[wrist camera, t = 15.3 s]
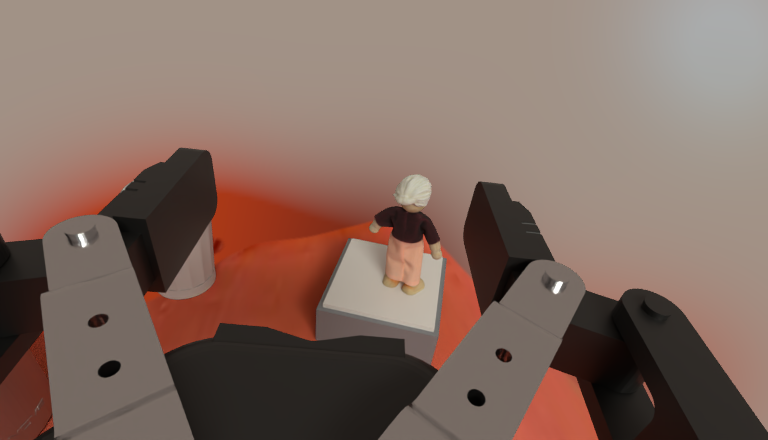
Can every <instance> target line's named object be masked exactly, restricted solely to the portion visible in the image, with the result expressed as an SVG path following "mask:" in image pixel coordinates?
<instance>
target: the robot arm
mask: <svg viewBox="0 0 768 440" xmlns="http://www.w3.org/2000/svg"><path fill="white" fill-rule="evenodd" d="M216 208H217V192H216V185H215V178H214V171H213V164H212V158H211V155H210V153H209V152H208V151H207V150H197V149H188V148H179V149H178V150H177V151H176V152H175V153H174V154H173V155H172V156H171V157H170V158H169V159H168V160H167V161H166V162H165V163H164V162H160V163H158V164H155V165H153V166H151V167H149V168H147V169H145V170H144V171H142V172H141V173H140V174H139V175H138V176H137V177H136V178H135V179H134V182H131V183H130V184H129V185H128V186H127V187H126V188H125V190H123V191H121V192H120V193H119V194H118V196H116V197H115V198H114V199H113V200H112V201H111V202H110V203H109V204H108V205H107V206H106V207H105V208H104V209H103V210H102V211H101V212H100V213H99V214H97V215H84V216H79V217H74V218H71V219H68V220H65V221H63V222H60V223H58V224H57V225H55V226H53V227H52V228H51V229H49V230H48V231H47V232H46V234H45V235H44V237H43V239H36V240H26V241H15V242H5V241H4V240H3V238H2V236H1V234H0V440H512V439H513V437H514V435H515V433H516V431H517V429H518V427H519V425H520V423H521V421H522V419H523V417H524V415H525V413H526V411H527V409H528V407H529V405H530V403H531V401H532V399H533V397H534V395H535V393H536V391H537V389H538V388H539V386H540V384H541V382H542V380H543V378H544V376H545V374H546V372H547V370H548V368H549V367H551V368H553V369H556V370H559V371H561V372H564V373H567V374H570V375H572V376H575V377H576V378H577V381H578V383H579V386H580V389H581V392H582V395H583V397H584V400H585V403H586V406H587V409H588V411H589V414H590V417H591V420H592V423H593V425H594V428H595V431H596V434H597V436H598V439H599V440H768V432H767V431H766V429H765V428H764V426H763V425H762V424H761V422H760V421H759V419H758V418H757V416H755V414H754V412H753V411H752V409H751V408H750V407H749V405H748V404H747V402H746V401H745V399H744V398H743V397H742V395H741V394H740V392H739V391H738V390H737V388H736V387H735V385H734V384H733V383H732V381H731V380H730V378H729V377H728V375H727V374H726V373H725V372H724V370H723V368H722V367H721V366H720V364H719V363H718V361H717V360H716V358H715V357H714V356H713V354H712V353H711V352H710V350H709V349H708V347H707V346H706V344H705V343H704V341H703V340H702V339H701V337H700V336H699V334H698V333H697V332H696V330H695V329H694V327H693V326H692V324H691V323H690V322H689V320H688V319H687V317H686V316H685V315H684V313H683V312H682V311H681V310H680V309H679V308H678V307H677V306H676V305H675V304H673V303H672V302H671V301H669V300H668V299H666V298H664V297H662V296H660V295H658V294H656V293H654V292H651V291H648V290H643V289H630V290H627V291H625V293H624V294H623V295H622V297H621V298H620V300H619V301H616V300H613V299H610V298H607V297H604V296H601V295H598V294H595V293H592V292H589V291H586V290H585V284H584V282H583V280H582V279H581V278H580V276H578V275H577V273H575V272H574V271H573V270H571V269H570V268H568V267H567V266H565V265H563V264H560V263H557V262H555V260H554V258H553V256H552V254H551V252H550V250H549V248H548V246H547V244H546V243H545V241H544V239H543V236H542V235H541V234H540V231H539V229H538V227H537V225H536V223H535V221H534V219H533V217H532V215H531V213H530V212H529V211H528V210H527V209H526V208H525V207H524V206H523V205H522V204H520V203H519V202H516V201H512V200H511V198H510V196H509V194H508V192H507V190H506V187H505V186H504V185H503V184H497V183H488V182H478V184H477V185H476V188H475V191H474V194H473V197H472V201H471V204H470V207H469V211H468V214H467V218H466V221H465V225H464V233H463V239H464V245H465V249H466V253H467V257H468V261H469V266H470V270H471V274H472V278H473V282H474V287H475V291H476V295H477V299H478V303H479V307H480V311H481V315H482V316H481V317H480V319H479V320H478V321H477V322H476V324H475V325H474V326H473V327H472V329H471V330H470V331H469V333H468V334H467V335H466V336H465V338H464V339H463V340H462V341H461V343H460V344H459V345H458V346H457V348H456V349H455V350H454V352H453V353H452V354H451V355H450V357H449V358H448V359H447V360H446V362H445V363H444V364H443V365H442V367H441V368H440V369H439V371H438V370H437V369H436V368H434V367H433V366H431V365H430V364H428V363H426V362H425V361H423V360H421V359H419V358H416V357H414V356H412V355H409V354H406V353H405V339H398V338H387V337H375V336H364V335H358V336H350V337H343V338H335V339H327V340H319V341H309V340H305V339H302V338H299V337H296V336H293V335H290V334H287V333H283V332H280V331H277V330H274V329H271V328H268V327H260V326H248V325H236V324H225V323H220V325H219V327H218V329H217V331H216V334H215V336H214V338H208V339H204V340H199V341H195V342H192V343H189V344H186V345H183V346H181V347H178V348H176V349H174V350H171V351H170V352H168V353H166V354H163V351H162V348H161V345H160V342H159V339H158V337H157V334H156V331H155V328H154V325H153V322H152V320H151V317H150V314H149V311H148V308H147V305H146V302H145V300H144V295H145V294H146V292H147V291H150V292H161V293H166V292H167V290H168V289H169V287H170V286H171V284H172V282H173V281H174V279H175V278H176V276H177V274H178V273H179V271H180V270H181V268H182V266H183V265H184V263H185V262H186V260H187V258H188V257H189V255H190V253H191V252H192V250H193V249H194V247H195V245H196V244H197V242H198V241H199V239H200V237H201V236H202V234H203V233H204V231H205V229H206V228H207V226H208V225H209V223H210V221H211V220H212V218H213V216H214V215H215V211H216ZM42 331H44V338H45V347H46V357H47V366H48V376H49V380H48V378H47V377H46V375H45V373H44V372H43V370H42V369H41V367H40V365H39V364H38V362H37V360H36V358H35V357H34V355H33V353H32V352H31V350H30V349H29V348H30V347H31V345H32V344H33V343H34V342H35V340H36V339H37V338H38V337H39V335H40V334H41V333H42ZM643 382H646V385H647V387H648V388H649V390H650V392H651V395H652V397H653V400H654V405H655V408H654V406H653V404H652V402H651V400H650V398H649V396H648V394H647V392H646V390H645V388H644V386H643ZM51 414H53V423H54V426H53V427H52V428H50V429H49V430H47V431H46V432H44V433H43V434H41V435H40V436H38V435H39V433H40V432H41V431H42V430H43V428H44V427H45V425H46V424H47V422H48V420H49V418H50V417H51ZM37 436H38V437H37Z"/></svg>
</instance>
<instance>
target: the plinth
mask: <svg viewBox="0 0 768 440" xmlns="http://www.w3.org/2000/svg"><path fill="white" fill-rule="evenodd" d="M387 248H388V246H387V245H383V244H378V243H373V242H368V241H363V240H359V239H354V238H352V239H350V238H349V239H348V241H347V243H346V246H345V248H344V250H343V252H342V254H341V256H340V259H339V261H338V263H337V265H336V267H335V270H334V272H333V274H332V276H331V278H330V280H329V283H328V285H327V287H326V289H325V291H324V294H323V296H322V298H321V300H320V302H319V305H318V307H317V309H316V340H327V339H335V338H343V337H350V336H358V335H364V336H375V337H387V338H398V339H405V353H406V354H409V355H412V356H414V357H416V358H419V359H421V360H423V361H425V362H426V363H428V364H430V365H431V362H432V358H433V355H434V351H435V347H436V344H437V340H438V335H439V326H440V316H441V307H442V298H443V288H444V279H445V269H446V260H447V259H446V258H443V257H441V258H440V259H438V260H435V259H433V258H432V256H431V254H426V253H423V259H422V267H421V275H420V278H421V279H422V280H423V281H424V284H425V287H424V289H423V290H421V291H420V292H418V293H416V294H414V295H407V294H405V293H404V292H403V291H402V286H403V285H404V282H402V281H401V282H400V283H399V284H398V285H397V286H396V287H394V288H389V287H386V286H385V285H383V278H384V275H385V273H386V272H385V268H386V253H387Z"/></svg>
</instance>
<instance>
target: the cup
mask: <svg viewBox="0 0 768 440" xmlns="http://www.w3.org/2000/svg"><path fill="white" fill-rule="evenodd" d="M132 182H134V181H132ZM129 184H130V183H129ZM129 184H128V185H129ZM128 185H126V186H125V187H124V188H123V189H122V191H123V190H125V188H126V187H127V186H128ZM215 279H216V272H215V266H214V252H213V237H212V223H211V221H210V223H209V225H208V226H207V228H206V229H205V231H204V233H203V234H202V236H201V237H200V239H199V241H198V242H197V244H196V245H195V247H194V249H193V250H192V252H191V253H190V255H189V257H188V258H187V260H186V262H185V263H184V265H183V266H182V268H181V270H180V271H179V273H178V274H177V276H176V278H175V279H174V281H173V282H172V284H171V286H170V287H169V289H168V290H167V292H166V293H161V292H158V293H159V294H161V295H162V296H164V297H166V298H169V299H177V300H180V299H188V298H192V297H195V296H198V295H200V294H202V293H204V292H205V291H207V290H208V289H209V288H210V287H211V286H212V285H213V283H214V281H215Z"/></svg>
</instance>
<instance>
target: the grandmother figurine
mask: <svg viewBox="0 0 768 440" xmlns="http://www.w3.org/2000/svg"><path fill="white" fill-rule="evenodd" d="M431 187H432V186H431V183H430V182H429V181H428V179H427V178H425V177H423V176H421V175H419V174H418V175H410V176H408V177H406V178H404V179H403V181H402V182H401V183H400V184H399V185H398V186H397V188H396V193H395V194H393V196H394V197H395V200H396V202H397V203H399V204H401V205H402V207H398V206H395V207H390V208H387V209H385V210H383V211H381V212H380V213H378V214H377V215H375V219H374V221H373V223H372V224H371V225H370V226H369V229H370V231H371V232H372V233H377V232H378V231H379V228H381V227H393V230H392V232H391V234H390V238H389V242H388V248H387V253H386V268H385V272H386V273H385V275H384V278H383V285H385V286H386V287H389V288H394V287H396V286H397V285H398V284H399V283H400V282H401V281H402V282H404V285H403V286H402V291H403V292H404V293H405V294H407V295H414V294H416V293H418V292H420V291H421V290H423V289H424V287H425V284H424V281H423V280H422V279H421V278H420V275H421V267H422V259H423V251H424V244H423V234H424V236H425V238H426V240H427V242H428V244H429V247H430V250H431V251H432V252H431V256H432V258H433V259H435V260H438V259H440V258H441V257H442V252H441V250H440V248H441V247H440V238H439V236H438V233H437V231H436V229H435V227H434V225H433V223H432V221H431V219H430V218H429V217H427V216H426V215H425V214H423V213H422V212H420V211H421V210H423V209H424V207H425V206H426V205H427V203H428V200H429V199H430V194H431Z"/></svg>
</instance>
